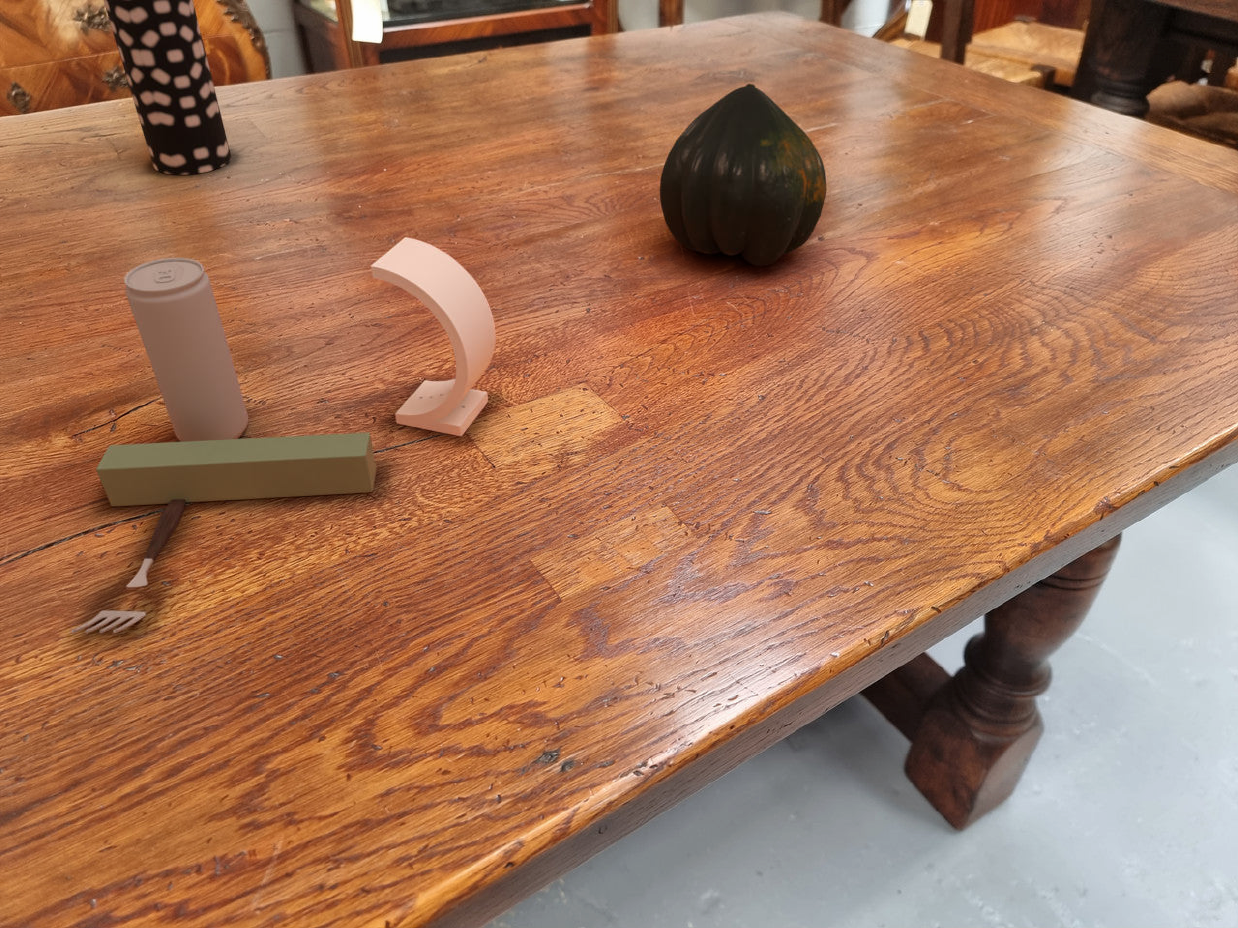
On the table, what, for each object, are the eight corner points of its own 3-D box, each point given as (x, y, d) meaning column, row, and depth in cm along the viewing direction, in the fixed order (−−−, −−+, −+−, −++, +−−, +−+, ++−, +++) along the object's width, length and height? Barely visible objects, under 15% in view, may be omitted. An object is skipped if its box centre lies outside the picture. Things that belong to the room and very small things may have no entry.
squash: (737, 248, 76) (822, 80, 75) (607, 204, 84) (682, 52, 83) (801, 308, 87) (875, 164, 86) (680, 264, 96) (747, 132, 95)
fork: (221, 469, 61) (214, 445, 60) (129, 657, 49) (118, 631, 47) (180, 469, 61) (172, 445, 60) (78, 657, 48) (66, 631, 47)
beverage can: (248, 407, 66) (205, 252, 59) (253, 445, 63) (207, 284, 55) (176, 420, 65) (122, 263, 57) (177, 460, 61) (119, 297, 54)
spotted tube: (215, 144, 109) (167, -46, 97) (243, 164, 104) (195, -34, 92) (143, 159, 105) (82, -38, 93) (168, 180, 100) (107, -25, 88)
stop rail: (111, 507, 57) (95, 469, 56) (123, 482, 59) (108, 444, 58) (372, 492, 59) (365, 455, 57) (377, 468, 61) (370, 431, 59)
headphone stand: (426, 389, 68) (405, 236, 61) (501, 404, 67) (489, 249, 60) (396, 423, 65) (370, 266, 57) (474, 439, 63) (458, 280, 56)
